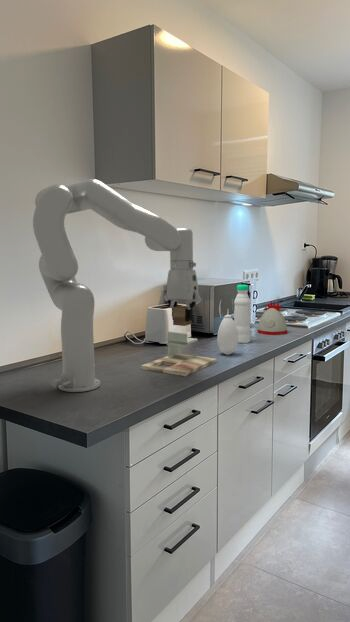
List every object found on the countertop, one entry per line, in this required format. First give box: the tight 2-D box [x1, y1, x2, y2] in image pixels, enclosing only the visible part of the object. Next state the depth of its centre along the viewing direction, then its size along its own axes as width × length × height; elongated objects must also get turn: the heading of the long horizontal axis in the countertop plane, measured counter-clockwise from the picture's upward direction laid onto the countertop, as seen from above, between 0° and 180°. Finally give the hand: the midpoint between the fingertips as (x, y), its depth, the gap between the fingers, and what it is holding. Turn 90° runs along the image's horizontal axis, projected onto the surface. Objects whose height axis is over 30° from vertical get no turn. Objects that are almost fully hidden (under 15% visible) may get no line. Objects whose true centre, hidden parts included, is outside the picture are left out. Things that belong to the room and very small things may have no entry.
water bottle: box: [233, 284, 252, 344], centre depth 208 cm, size 7×7×25 cm
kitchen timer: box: [257, 301, 288, 336], centre depth 230 cm, size 14×14×15 cm
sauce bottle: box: [216, 309, 239, 356], centre depth 186 cm, size 8×8×18 cm
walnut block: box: [172, 305, 192, 327], centre depth 162 cm, size 4×4×6 cm
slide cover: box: [167, 331, 199, 357], centre depth 177 cm, size 8×8×9 cm
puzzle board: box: [140, 353, 218, 377], centre depth 171 cm, size 22×18×1 cm
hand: (182, 319), depth 162 cm, fingers closed on walnut block, 4 cm apart
